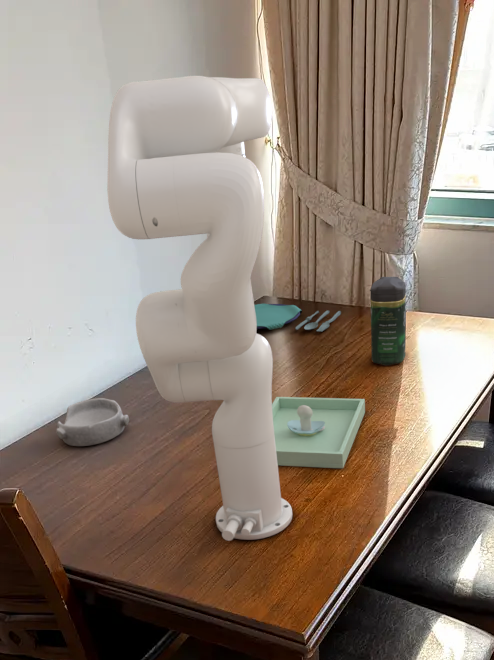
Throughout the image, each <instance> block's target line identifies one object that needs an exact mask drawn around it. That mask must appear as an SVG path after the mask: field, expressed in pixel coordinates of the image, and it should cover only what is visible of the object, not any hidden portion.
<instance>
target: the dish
mask: <svg viewBox="0 0 494 660" xmlns="http://www.w3.org/2000/svg"><path fill="white" fill-rule="evenodd" d="M129 423H130V418H129V415H128V414H123V410H122V408H121V406H120V404H119V403H118V402H117V401H116V400H114V399H108V398H103V397H97V398H91V399H86V400H81V401H78V402H76V403H73V404H71V405H68V407H67V409H66V417H65V420H64V423H62V422H61V421H60V420H58V421H57V423H56V424H57V425H56V427H57V428H56V431H55V432H56V435H57V437H58V439H60V440H62V441H63V442H64V443H65V444H67V445H69V446H72V447H73V446H74V447H89V446H94V445H98V444H103V443H105V442H108V441H110V440H112V439H115V438H116V437H117V436H119V435H120V434H122V433H123V432H124V431H125V427H127V426H128V425H129Z"/></svg>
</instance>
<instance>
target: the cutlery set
mask: <svg viewBox="0 0 494 660" xmlns="http://www.w3.org/2000/svg"><path fill="white" fill-rule="evenodd" d="M254 306H255V313H256V321H257V330H262V329H268V330H270V331H272V330H276V329H281V328H282V327H284V325H287V324H290V323H292V322H294V321H295V320H297V319H298V318H299V316H301V314H302V313H303V310H302V309H301V308H299V307H298V306H297V305H296V304H295V305H294V304H282V303H263V302H262V303H257V304H254ZM317 314H320V311H319V310H316V311H315V312H314V313H313V314H311V315H310V316H307V317H305V320H303V321H302V322H300V323H299V324H298V325H296V326H295V331H298V330H299V329H300V328H301V327H303V326H304V327H303V329H304V330H305V331H312V330H315V329H316V328H317V329H316V331H315V332H318V333H319V332H320V333H321V332H323V331H325V330H326V329H328V328H329V327H330V323H332V322H334V321H335V320H336V319H337V318H338V317H339V316H341V315H342V311H341V310H338V311H337V312H336V313H334V315H333V316H332V317H330V319H328V320H325V322H322V323H321V325H320V326H319V322H320V321H321V320H322V319H323V318H324V317H326V316H327V315H329V314H330V310H327V309H326V311H324V312H323V313H322V314H321V315H320V316H319V317H318V318H317V320H316V321H314V322H313V321H312V322H310V321H311V320H312V318H313V317H314V316H315V315H317ZM318 326H319V327H318Z"/></svg>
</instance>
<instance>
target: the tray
mask: <svg viewBox="0 0 494 660" xmlns="http://www.w3.org/2000/svg"><path fill="white" fill-rule="evenodd" d="M301 405H306V406H309V407H310V408H311V409H312V411H313V415H312V417H311V421H324V422H325V425H324V426H325V428H324V430H322V431H319V432H316V434H314V435H312V436H301V435H299V434H298V433H294V432H292V431H291V430H290V429H289V428H288V426H287V423H288V422H289V421H291V420H300V417H299V416H298V414H297V409H298V407H299V406H301ZM272 412H273V424H274V435H275V444H276V453H277V463H278V466H280V467H281V466H283V467H285V466H286V467H303V468H304V467H305V468H321V469H322V468H324V469H326V468H327V469H344V468H345V465H346V462H347V460H348V457H349V454H350V452H351V449H352V447H353V445H354V442H355V439H356V436H357V434H358V431H359V429H360V426H361V424H362V421H363V419H364V416H365V414H366V400H365V398H344V397H343V398H339V397H301V396H299V397H298V396H276V397H275V398H274V399H273V401H272Z"/></svg>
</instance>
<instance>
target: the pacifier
mask: <svg viewBox="0 0 494 660" xmlns="http://www.w3.org/2000/svg"><path fill="white" fill-rule="evenodd" d="M297 414H298V416H299V417H300V420H291V421H289V422H288V423H287V426H288V428H289V429H290V430H291V431H292V432H294V433H298V434H299V435H301V436H312V435H314V434H316V432H319V431H322V430H324V428H325V426H324V425H325V422H324V421H311V417H312V415H313V411H312V409H311V408H310V407H309V406H306V405H301V406H299V407H298V409H297Z"/></svg>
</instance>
